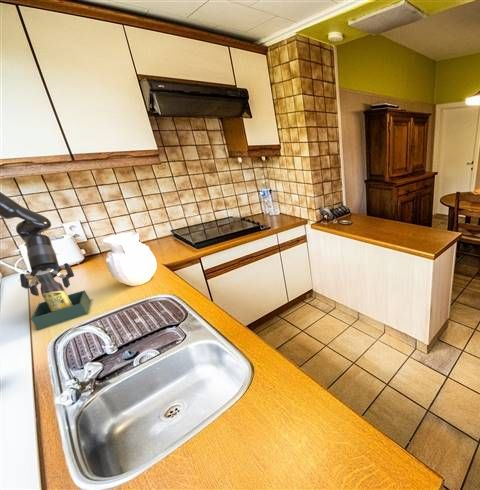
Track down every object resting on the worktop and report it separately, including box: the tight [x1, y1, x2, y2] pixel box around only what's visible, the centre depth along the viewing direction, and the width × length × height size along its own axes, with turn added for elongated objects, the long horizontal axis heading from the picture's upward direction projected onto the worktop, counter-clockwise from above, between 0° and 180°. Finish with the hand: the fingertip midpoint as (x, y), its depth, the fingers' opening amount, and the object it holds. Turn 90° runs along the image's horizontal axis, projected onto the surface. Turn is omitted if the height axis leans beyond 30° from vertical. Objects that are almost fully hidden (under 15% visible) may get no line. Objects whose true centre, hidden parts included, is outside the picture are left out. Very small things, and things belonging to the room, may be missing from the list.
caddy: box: [30, 290, 91, 331], centre depth 113 cm, size 14×14×5 cm
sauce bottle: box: [36, 271, 73, 312], centre depth 110 cm, size 7×6×20 cm
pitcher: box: [102, 231, 158, 287], centre depth 133 cm, size 19×18×25 cm
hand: (51, 291), depth 109 cm, fingers open, 8 cm apart
